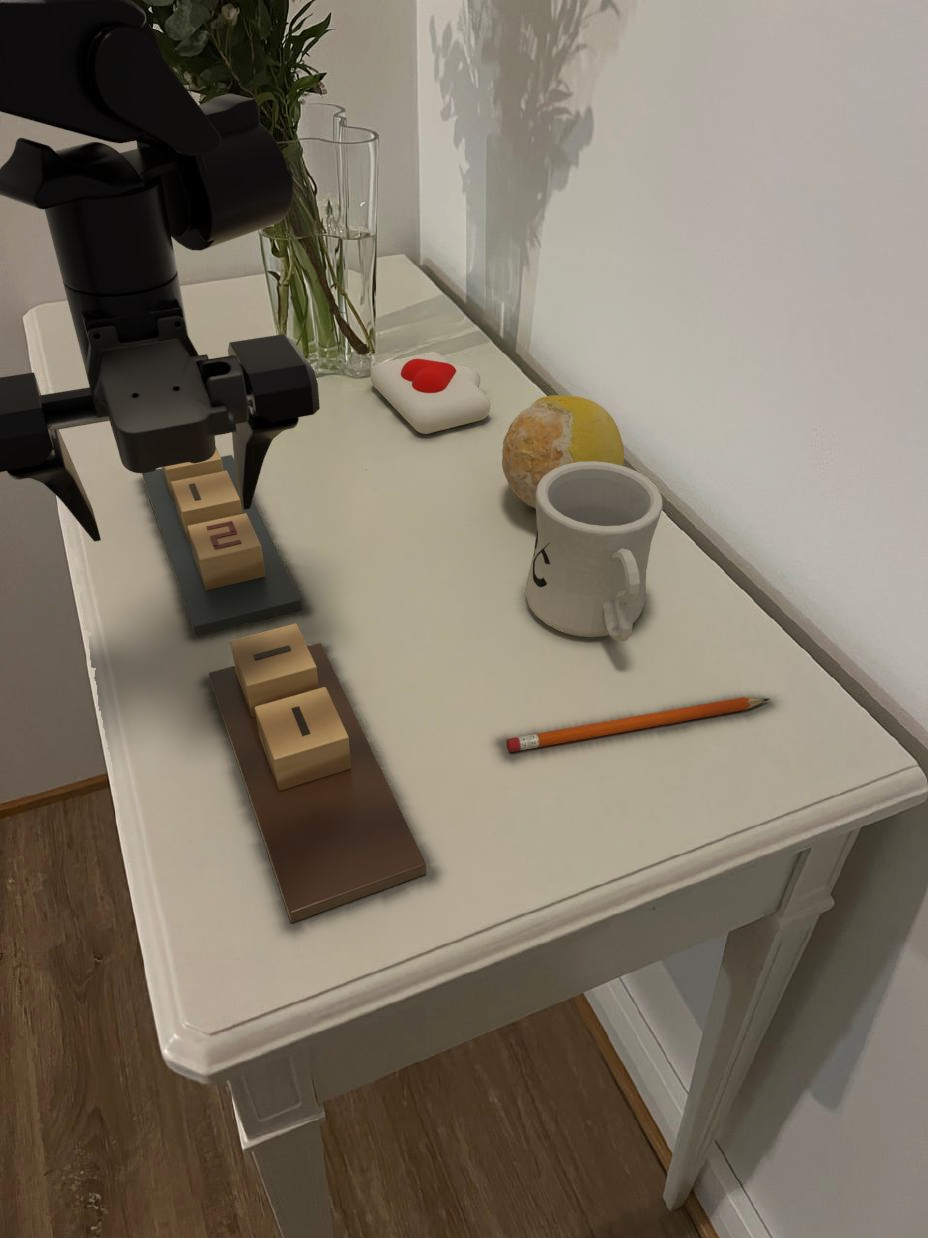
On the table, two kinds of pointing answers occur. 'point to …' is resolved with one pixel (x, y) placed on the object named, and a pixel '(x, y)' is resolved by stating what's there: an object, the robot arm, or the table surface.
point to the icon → (431, 391)
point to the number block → (226, 551)
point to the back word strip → (176, 505)
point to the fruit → (557, 441)
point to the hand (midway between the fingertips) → (173, 521)
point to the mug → (592, 548)
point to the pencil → (631, 723)
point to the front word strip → (323, 813)
